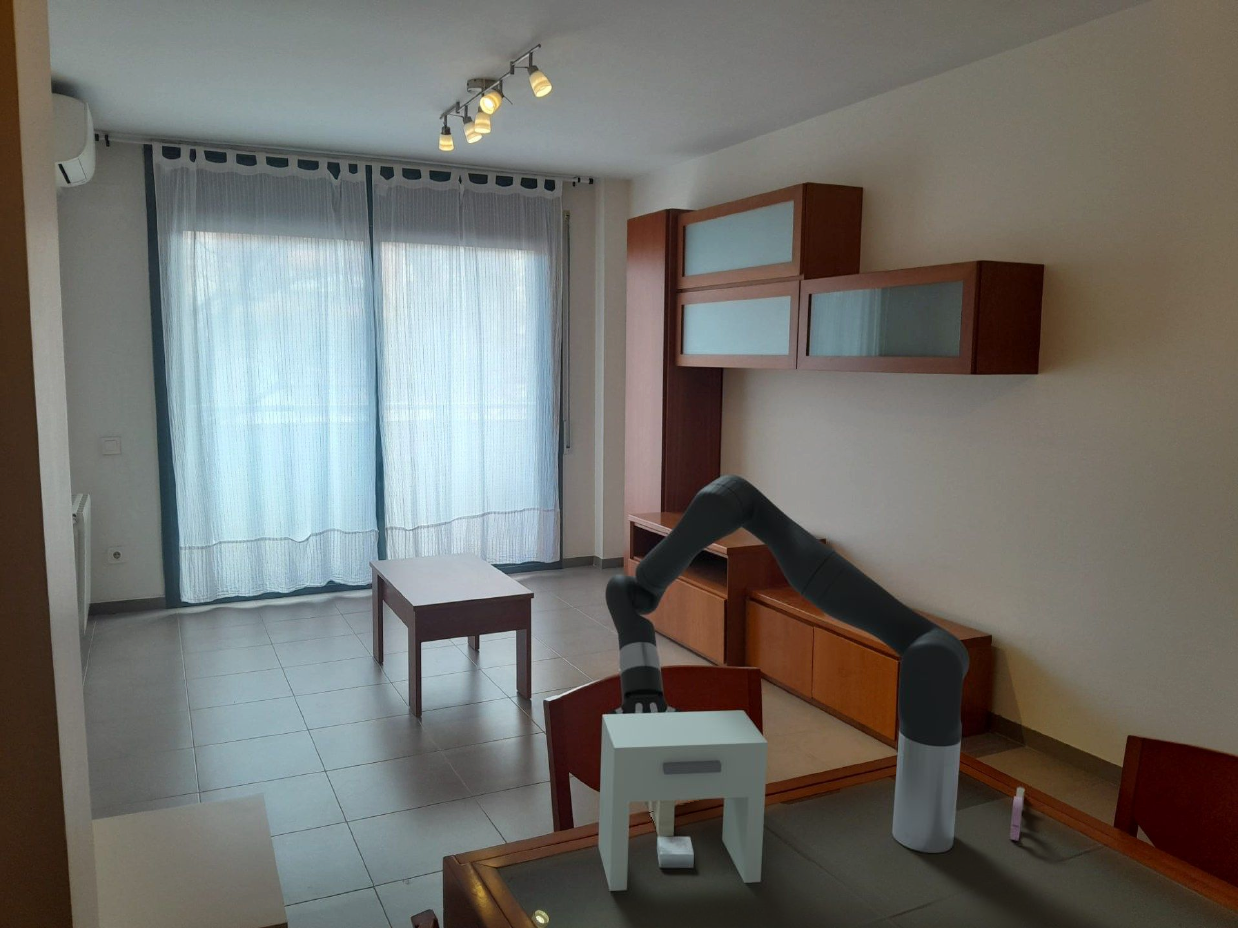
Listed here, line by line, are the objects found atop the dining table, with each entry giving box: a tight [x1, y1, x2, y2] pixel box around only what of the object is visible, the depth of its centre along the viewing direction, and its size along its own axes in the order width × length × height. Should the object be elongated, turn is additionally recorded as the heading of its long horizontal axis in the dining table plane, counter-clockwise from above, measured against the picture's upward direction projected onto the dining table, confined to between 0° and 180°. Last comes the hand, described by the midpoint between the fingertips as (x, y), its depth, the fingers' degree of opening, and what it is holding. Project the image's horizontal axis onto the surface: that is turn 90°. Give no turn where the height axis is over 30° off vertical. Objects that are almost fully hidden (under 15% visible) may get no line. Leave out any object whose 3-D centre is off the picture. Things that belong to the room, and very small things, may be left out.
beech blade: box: [645, 800, 676, 837], centre depth 155 cm, size 22×2×8 cm, turn 9°
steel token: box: [656, 836, 695, 869], centre depth 138 cm, size 5×5×2 cm
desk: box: [598, 709, 769, 892], centre depth 135 cm, size 13×22×21 cm, turn 99°
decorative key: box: [1009, 786, 1025, 842], centre depth 154 cm, size 7×1×20 cm
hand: (650, 765), depth 158 cm, fingers closed on beech blade, 2 cm apart
